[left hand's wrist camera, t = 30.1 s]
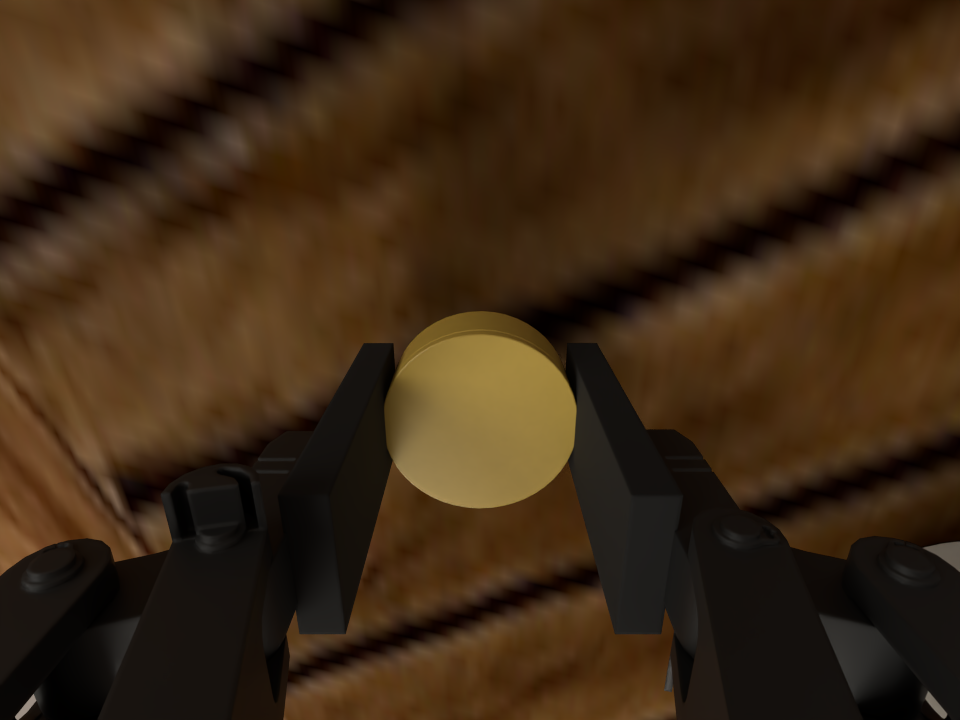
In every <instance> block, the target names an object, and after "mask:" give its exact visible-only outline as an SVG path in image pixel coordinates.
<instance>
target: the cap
mask: <svg viewBox="0 0 960 720" xmlns="http://www.w3.org/2000/svg"><path fill="white" fill-rule="evenodd" d="M576 409H577V404H576V400H575V397H574V393H573V391H572V388H571V385H570V383H569V380H568V377H567V374H566V372H565V369H564V366H563V364H562V362H561V359H560V357H559V355H558V354H557V352H556V351H555V349H554V347H553V346H552V345H551V344H550V342H549V341H548V340H547V339H546V338H545V337H544V336H543V335H542V334H541V333H540V332H538V331H537V330H536V329H534V328H533V327H531V326H530V325H529V324H527V323H525V322H523V321H521V320H519V319H517V318H514V317H511V316H508V315H505V314H500V313H495V312H485V311H477V312H466V313H460V314H456V315H453V316H449V317H446V318H444V319H442V320H440V321H437V322H435V323H434V324H432V325H431V326H429V327H427V328H426V329H425V330H423V331H422V332H421V333H420V334H419V335H417V336H416V337H415V339H414V340H413V341H412V342H411V343H410V344H409V345H408V347H407V348H406V350H405V351H404V353H403V354H402V356H401V358H400V360H399V362H398V365H397V368H396V371H395V373H394V376H393V379H392V381H391V384H390V387H389V390H388V393H387V396H386V399H385V402H384V415H385V429H386V443H387V449H388V451H389V454H390V456H391V458H392V460H393V461H394V463H395V465H396V466H397V468H398V469H399V470H400V471H401V473H402V474H403V475H404V476H405V477H406V478H407V479H408V480H409V481H410V482H411V483H412V484H413V485H414V486H416V487H417V488H418V489H420V490H421V491H423V492H424V493H426V494H428V495H430V496H431V497H433V498H436V499H438V500H440V501H443V502H446V503H449V504H452V505H456V506H462V507H469V508H492V507H499V506H504V505H508V504H512V503H515V502H517V501H520V500H523V499H525V498H527V497H529V496H531V495H533V494H535V493H536V492H538V491H539V490H541V489H542V488H544V487H545V486H546V485H547V484H548V483H550V482H551V481H552V480H553V479H554V478H555V477H556V476H557V474H558V473H559V472H560V471H561V470H562V468H563V467H564V465H565V464H566V462H567V461H568V459H569V457H570V455H571V453H572V451H573V448H574V438H575V424H576Z"/></svg>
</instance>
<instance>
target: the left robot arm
mask: <svg viewBox="0 0 960 720" xmlns="http://www.w3.org/2000/svg"><path fill="white" fill-rule="evenodd" d="M394 373H395V361H394V345H393V343H364V344H363V346H362V348H361V349H360V351H359V353H358V355H357V356H356V358H355V360H354V362H353V363H352V365H351V367H350V369H349V370H348V372H347V374H346V376H345V377H344V379H343V381H342V383H341V385H340V386H339V388H338V390H337V392H336V393H335V395H334V397H333V399H332V400H331V402H330V404H329V406H328V407H327V409H326V411H325V413H324V414H323V416H322V418H321V420H320V422H319V423H318V425H317V427H316V429H315V430H314V431H287V432H285V433H284V434H282V435H281V436H279V437H278V438H276V439H275V440H273V441H272V442H270V443H269V444H268V445H267V446H266V448H265V449H264V451H263V452H262V454H261V455H260V457H259V458H258V461H256V462H255V464H254V465H253V467H252V468H251V467H249V466H245V465H241V464H217V465H212V466H207V467H202V468H199V469H197V470H194V471H192V472H189V473H187V474H184V475H183V476H181V477H179V478H178V479H176V480H175V481H173V482H172V483H170V484H169V485H168V486H167V487H166V489H165V490H164V491H163V492H162V493H161V497H162V501H163V505H164V509H165V513H166V517H167V521H168V525H169V529H170V533H171V537H172V541H173V542H172V544H171V547H170V549H169V550H167V551H163V552H159V553H156V554H151V555H147V556H142V557H137V558H132V559H128V560H123V561H118V562H114V559H113V555H112V552H111V549H110V547H109V546H108V545H106V544H105V543H104V542H103V541H100V540H94V539H88V538H86V539H77V540H68V541H64V542H60V543H58V544H53V545H50V546H47V547H45V548H43V549H41V550H39V551H37V552H35V553H33V554H31V555H29V556H27V557H25V558H23V559H22V560H20V561H19V562H18V563H16V564H15V565H14V566H12V567H11V568H9V569H8V570H7V571H6V572H4V573H3V574H2V575H1V576H0V720H16V718H15V716H16V714H17V713H18V712H19V711H20V710H21V708H22V707H23V706H24V705H25V703H26V702H27V701H28V700H29V699H30V697H31V696H32V695H33V694H34V696H35V698H36V700H37V701H36V702H35V703H34V705H33V706H32V707H31V708H30V709H29V711H28V712H27V713H26V714H25V715H24V716H23V717H21V718H20V719H19V720H283V717H284V708H285V698H286V688H287V678H288V669H289V659H290V654H289V648H288V642H287V636H286V633H287V631H288V628H289V625H290V623H291V620H292V618H293V615H294V613H295V610H296V614H297V621H298V627H299V633H300V634H346V631H347V627H348V623H349V619H350V616H351V612H352V608H353V605H354V601H355V597H356V594H357V590H358V586H359V583H360V579H361V575H362V572H363V568H364V564H365V560H366V557H367V553H368V549H369V546H370V542H371V538H372V535H373V531H374V527H375V524H376V520H377V516H378V513H379V509H380V505H381V501H382V498H383V494H384V490H385V487H386V483H387V479H388V476H389V472H390V468H391V465H392V461H393V460H392V458H391V456H390V454H389V451H388V449H387V443H386V429H385V415H384V402H385V399H386V396H387V393H388V390H389V387H390V384H391V381H392V379H393V376H394ZM566 374H567V377H568V380H569V383H570V385H571V388H572V391H573V393H574V397H575V400H576V404H577V409H576V424H575V438H574V448H573V451H572V453H571V455H570V457H569V459H568V462H569V466H570V470H571V473H572V477H573V481H574V484H575V488H576V492H577V495H578V499H579V503H580V506H581V510H582V514H583V518H584V521H585V525H586V529H587V532H588V536H589V540H590V543H591V547H592V551H593V554H594V558H595V562H596V565H597V569H598V573H599V576H600V580H601V584H602V588H603V591H604V595H605V599H606V602H607V606H608V610H609V613H610V617H611V621H612V624H613V628H614V632H615V634H661V631H662V625H663V618H664V612H665V608H666V611H667V613H668V616H669V618H670V621H671V623H672V626H673V628H674V636H673V642H672V647H671V653H670V659H669V665H668V671H667V676H666V683H665V689H664V690H665V691H670V692H672V687H674V696H675V706H676V716H677V720H960V572H959V571H958V570H957V569H956V568H955V567H953V566H952V565H950V564H949V563H948V562H946V561H945V560H943V559H942V558H940V557H939V556H938V555H936V554H934V553H932V552H930V551H928V550H926V549H923V548H921V547H920V546H918V545H916V544H913V543H910V542H907V541H906V542H905V541H903V540H899V539H895V538H887V537H878V536H872V537H866V538H860V539H859V540H857V541H856V542H855V543H854V544H852V545H851V549H850V552H849V555H848V558H847V560H844V559H839V558H835V557H830V556H825V555H820V554H816V553H811V552H806V551H803V550H799V549H795V548H792V547H790V546H789V543H788V541H787V540H786V538H785V537H784V536H783V534H782V533H781V531H780V530H779V529H778V528H776V527H775V526H774V525H772V524H771V523H770V522H768V521H767V520H766V519H764V518H761V517H759V516H757V515H755V514H752V513H750V512H747V511H743V510H740V509H739V508H738V506H737V505H736V503H735V502H734V500H733V499H732V498H731V496H730V495H729V493H728V492H727V490H726V489H725V488H724V486H723V485H722V483H721V482H720V480H719V479H718V478H717V476H716V475H715V473H714V472H712V471H711V468H710V466H709V465H708V463H707V462H706V460H703V456H702V455H701V453H700V452H699V450H698V449H697V448H696V446H695V445H694V443H693V442H692V441H690V440H689V439H687V438H686V437H684V436H683V435H681V434H680V433H678V432H677V431H675V430H646V429H645V427H644V426H643V424H642V422H641V420H640V419H639V417H638V415H637V413H636V411H635V410H634V408H633V406H632V404H631V403H630V401H629V399H628V397H627V396H626V394H625V392H624V390H623V389H622V387H621V385H620V383H619V382H618V380H617V378H616V376H615V375H614V373H613V371H612V369H611V367H610V366H609V364H608V362H607V360H606V359H605V357H604V355H603V353H602V352H601V350H600V348H599V346H598V345H597V343H567V356H566ZM928 691H929V692H930V694H931V695H932V696H933V697H934V698H935V700H936V701H937V702H938V703H939V704H940V706H941V707H942V708H943V709H944V711H945V712H946V713H947V716H946V718H945V719H944V718H942V717H941V716H940V715H939V714H938V713H937V712H936V711H935V710H934V709H933V708H932V707H931V705H930V704H929V703H928V702H927V700H926V699H925V698H926V696H927V693H928Z"/></svg>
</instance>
